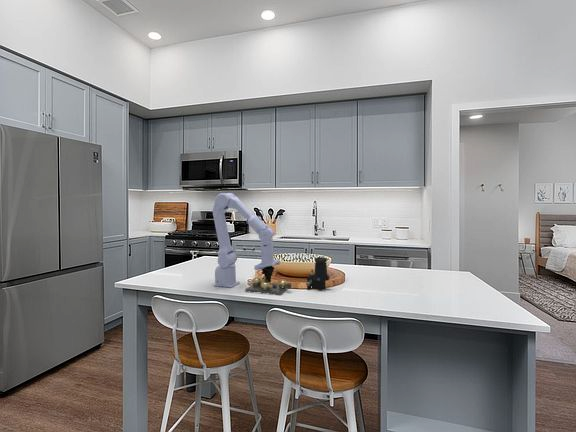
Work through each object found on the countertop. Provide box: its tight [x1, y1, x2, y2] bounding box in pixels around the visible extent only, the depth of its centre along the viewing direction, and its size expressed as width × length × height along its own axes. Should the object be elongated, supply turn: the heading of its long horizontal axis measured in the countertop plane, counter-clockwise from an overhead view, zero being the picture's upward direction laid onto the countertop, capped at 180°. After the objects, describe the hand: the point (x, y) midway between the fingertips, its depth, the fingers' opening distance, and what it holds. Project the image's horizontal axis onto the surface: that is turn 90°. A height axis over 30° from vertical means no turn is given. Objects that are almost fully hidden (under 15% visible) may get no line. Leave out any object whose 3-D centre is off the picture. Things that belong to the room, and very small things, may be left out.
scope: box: [305, 256, 331, 291], centre depth 149 cm, size 8×14×10 cm
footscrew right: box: [261, 282, 278, 290], centre depth 145 cm, size 7×4×2 cm, turn 69°
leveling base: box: [245, 282, 290, 296], centre depth 149 cm, size 17×11×2 cm, turn 70°
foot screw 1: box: [252, 277, 268, 285], centre depth 152 cm, size 7×4×2 cm, turn 78°
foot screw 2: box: [278, 279, 292, 289], centre depth 147 cm, size 7×4×2 cm, turn 40°
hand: (268, 282), depth 153 cm, fingers closed
